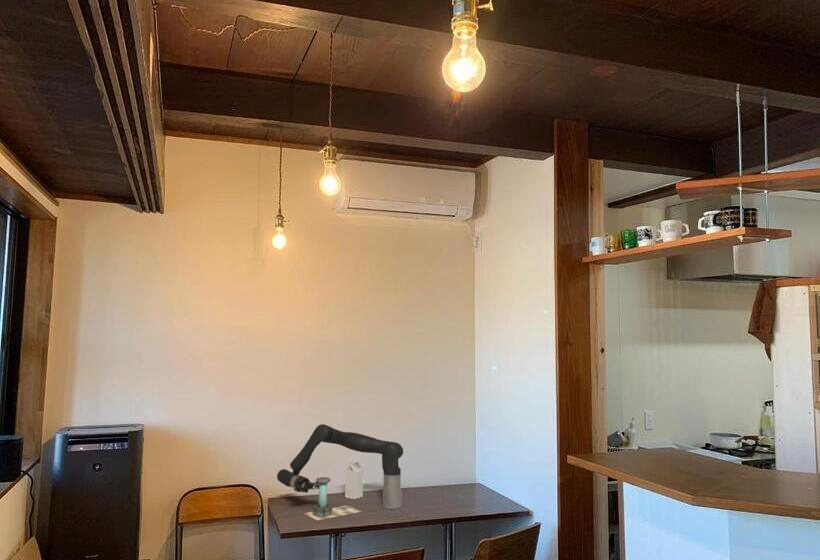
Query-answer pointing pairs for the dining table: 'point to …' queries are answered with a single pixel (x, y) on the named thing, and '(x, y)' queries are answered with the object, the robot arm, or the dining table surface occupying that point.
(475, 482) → the dining table surface
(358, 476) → the milk carton
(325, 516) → the eye board
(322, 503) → the wheel peg
